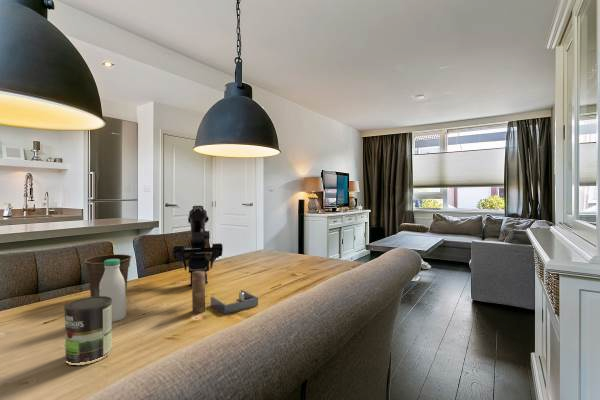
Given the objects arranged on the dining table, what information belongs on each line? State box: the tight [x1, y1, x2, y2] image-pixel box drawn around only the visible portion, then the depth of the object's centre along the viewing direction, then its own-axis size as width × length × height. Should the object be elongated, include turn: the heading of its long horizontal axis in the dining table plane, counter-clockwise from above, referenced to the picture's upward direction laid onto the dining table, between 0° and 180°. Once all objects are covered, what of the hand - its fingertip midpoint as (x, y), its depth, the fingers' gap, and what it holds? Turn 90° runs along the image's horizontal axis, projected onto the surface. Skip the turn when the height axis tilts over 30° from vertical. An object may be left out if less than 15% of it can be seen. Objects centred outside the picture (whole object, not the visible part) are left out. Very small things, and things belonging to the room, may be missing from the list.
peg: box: [191, 271, 206, 314], centre depth 113 cm, size 4×4×14 cm
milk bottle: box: [99, 259, 127, 323], centre depth 106 cm, size 8×8×20 cm
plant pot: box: [84, 253, 132, 297], centre depth 127 cm, size 16×16×16 cm
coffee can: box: [63, 296, 113, 363], centre depth 82 cm, size 10×10×14 cm
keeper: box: [210, 290, 259, 315], centre depth 118 cm, size 12×14×6 cm
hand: (198, 269), depth 120 cm, fingers open, 9 cm apart
